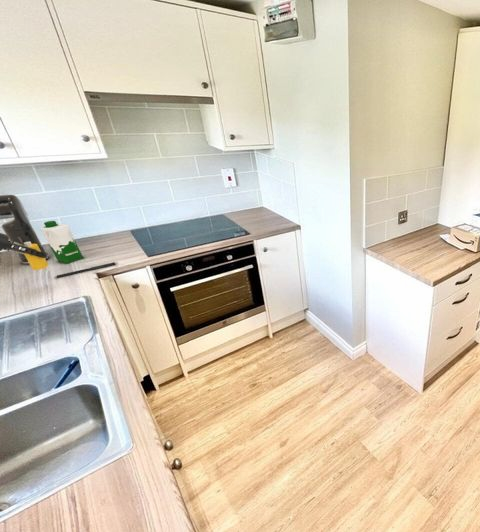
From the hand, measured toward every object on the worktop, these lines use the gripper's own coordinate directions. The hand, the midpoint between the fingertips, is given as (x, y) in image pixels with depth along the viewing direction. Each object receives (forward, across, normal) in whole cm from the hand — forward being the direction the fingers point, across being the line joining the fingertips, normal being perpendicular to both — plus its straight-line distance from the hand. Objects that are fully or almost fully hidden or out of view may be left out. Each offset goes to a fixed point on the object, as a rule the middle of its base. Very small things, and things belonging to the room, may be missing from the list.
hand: (40, 254), depth 136 cm
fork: (+20, +2, +1) cm, 20 cm away
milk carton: (+24, +22, -3) cm, 32 cm away
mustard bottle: (+2, 0, +5) cm, 6 cm away
